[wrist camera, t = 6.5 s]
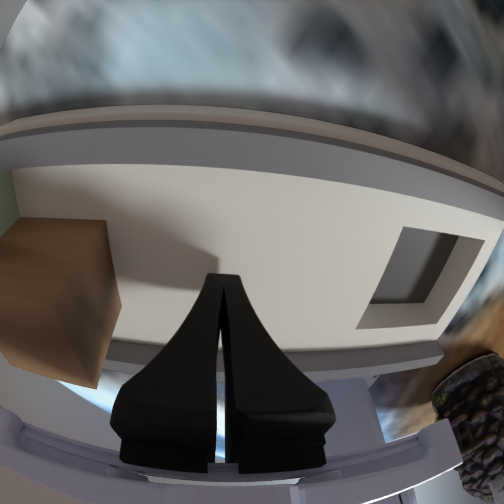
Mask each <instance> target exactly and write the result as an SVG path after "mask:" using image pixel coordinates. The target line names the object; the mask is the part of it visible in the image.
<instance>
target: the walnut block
mask: <svg viewBox="0 0 504 504" xmlns="http://www.w3.org/2000/svg"><path fill="white" fill-rule="evenodd" d="M121 308H122V304H121V299H120V295H119V291H118V286H117V281H116V276H115V271H114V266H113V261H112V255H111V250H110V244H109V237H108V230H107V223H106V220H90V219H66V218H38V217H20V218H19V219H18V220H17V221H16V222H15V223H14V224H13V225H12V226H11V227H10V228H9V229H8V230H7V231H6V232H5V233H4V234H3V235H2V236H1V237H0V351H1V353H2V354H3V355H4V356H5V358H6V359H7V361H8V362H9V364H11V365H13V366H15V367H18V368H21V369H24V370H27V371H30V372H33V373H36V374H39V375H42V376H46V377H49V378H53V379H56V380H60V381H63V382H67V383H71V384H75V385H79V386H83V387H88V388H92V389H97V386H98V382H99V378H100V375H101V371H102V367H103V364H104V361H105V357H106V354H107V351H108V347H109V344H110V341H111V338H112V335H113V332H114V328H115V325H116V322H117V320H118V317H119V314H120V311H121Z"/></svg>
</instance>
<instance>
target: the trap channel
mask: <svg viewBox="0 0 504 504" xmlns="http://www.w3.org/2000/svg"><path fill="white" fill-rule="evenodd" d="M20 217H38V218H66V219H90V220H106V223H107V230H108V237H109V244H110V250H111V255H112V261H113V266H114V271H115V276H116V281H117V286H118V291H119V295H120V299H121V304H122V308H121V311H120V314H119V317H118V320H117V322H116V325H115V328H114V332H113V335H112V338H111V341H110V344H109V347H108V351H107V354H106V357H105V361H104V364H103V367H102V369H106V370H111V371H117V372H123V373H130V374H137V373H138V372H139V371H141V370H142V369H143V368H144V367H145V366H146V365H147V364H148V363H149V362H150V361H151V360H152V359H153V358H154V357H155V356H156V355H157V354H158V353H159V352H160V351H161V350H162V349H163V347H164V346H165V345H166V344H167V343H168V342H169V340H170V339H171V338H172V337H173V335H174V334H175V333H176V331H177V330H178V329H179V327H180V326H181V324H182V323H183V321H184V320H185V318H186V317H187V315H188V314H189V312H190V310H191V309H192V307H193V305H194V303H195V301H196V299H197V298H198V296H199V294H200V291H201V289H202V287H203V285H204V282H205V279H206V275H207V274H208V273H219V274H236V275H239V276H240V277H241V280H242V283H243V286H244V289H245V291H246V294H247V296H248V298H249V300H250V303H251V305H252V306H253V308H254V310H255V312H256V314H257V316H258V318H259V319H260V321H261V323H262V324H263V326H264V327H265V329H266V330H267V332H268V333H269V335H270V336H271V338H272V339H273V340H274V342H275V343H276V344H277V346H278V347H279V348H280V349H281V350H282V352H283V353H284V354H285V355H286V356H287V357H288V358H289V359H290V360H291V362H292V363H293V364H294V365H295V366H296V367H297V368H298V369H299V370H300V371H301V372H302V373H303V374H305V375H306V376H307V377H308V378H309V379H310V380H311V381H325V380H337V379H347V378H357V377H365V376H373V375H380V374H387V373H393V372H399V371H405V370H411V369H416V368H421V367H426V366H431V365H435V364H437V363H438V362H439V361H440V359H441V358H442V357H443V356H444V353H443V351H442V349H441V348H440V346H439V344H438V342H437V339H438V338H439V336H440V335H441V334H442V332H443V331H444V330H445V328H446V327H447V325H448V324H449V323H450V321H451V320H452V318H453V317H454V315H455V314H456V312H457V311H458V309H459V308H460V306H461V305H462V303H463V302H464V300H465V299H466V297H467V295H468V294H469V292H470V290H471V289H472V287H473V286H474V284H475V282H476V280H477V279H478V277H479V275H480V273H481V272H482V270H483V268H484V266H485V264H486V263H487V261H488V259H489V257H490V255H491V253H492V251H493V249H494V247H495V245H496V243H497V241H498V239H499V237H500V234H501V232H502V230H503V228H504V184H503V183H501V182H500V181H498V180H497V179H495V178H494V177H492V176H490V175H488V174H485V173H483V172H481V171H479V170H477V169H474V168H472V167H470V166H467V165H465V164H463V163H460V162H458V161H455V160H453V159H450V158H448V157H445V156H443V155H440V154H437V153H435V152H432V151H429V150H426V149H423V148H420V147H418V146H415V145H412V144H408V143H405V142H402V141H399V140H396V139H392V138H389V137H386V136H382V135H379V134H375V133H371V132H368V131H364V130H360V129H356V128H352V127H348V126H343V125H339V124H334V123H330V122H325V121H320V120H315V119H310V118H304V117H298V116H292V115H286V114H280V113H273V112H265V111H257V110H249V109H239V108H228V107H215V106H197V105H125V106H108V107H95V108H85V109H76V110H68V111H61V112H54V113H47V114H41V115H36V116H31V117H25V118H21V119H16V120H14V121H11V122H9V123H6V124H4V125H2V126H0V237H1V236H2V235H3V234H4V233H5V232H6V231H7V230H8V229H9V228H10V227H11V226H12V225H13V224H14V223H15V222H16V221H17V220H18V219H19V218H20ZM216 382H225V374H224V363H223V352H222V341H221V330H220V338H219V346H218V354H217V370H216Z"/></svg>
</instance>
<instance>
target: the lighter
mask: <svg viewBox="0 0 504 504" xmlns="http://www.w3.org/2000/svg"><path fill="white" fill-rule="evenodd" d="M25 2H26V0H0V49H1V47H2V45H3V43H4V41H5V39H6V37H7V35H8V33H9V31H10V29H11V27H12V25H13V23H14V21H15V20H16V18H17V16H18V14H19V13H20V11H21V9H22V7H23V6H24V4H25Z"/></svg>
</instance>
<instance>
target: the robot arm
mask: <svg viewBox="0 0 504 504" xmlns="http://www.w3.org/2000/svg"><path fill="white" fill-rule="evenodd" d="M220 330H221V341H222V352H223V363H224V374H225V463H215V451H216V433H217V387H216V370H217V354H218V346H219V338H220ZM380 375H381V374H380ZM380 375H373V376H365V377H357V378H347V379H337V380H325V381H311V380H310V379H309V378H308V377H307V376H306V375H305V374H303V373H302V372H301V371H300V370H299V369H298V368H297V367H296V366H295V365H294V364H293V363H292V362H291V360H290V359H289V358H288V357H287V356H286V355H285V354H284V353H283V352H282V350H281V349H280V348H279V347H278V346H277V344H276V343H275V342H274V340H273V339H272V338H271V336H270V335H269V333H268V332H267V330H266V329H265V327H264V326H263V324H262V323H261V321H260V319H259V318H258V316H257V314H256V312H255V310H254V308H253V306H252V305H251V303H250V300H249V298H248V296H247V294H246V291H245V289H244V286H243V283H242V280H241V277H240V276H239V275H236V274H219V273H208V274H207V275H206V279H205V282H204V285H203V287H202V289H201V291H200V294H199V296H198V298H197V299H196V301H195V303H194V305H193V307H192V309H191V310H190V312H189V314H188V315H187V317H186V318H185V320H184V321H183V323H182V324H181V326H180V327H179V329H178V330H177V331H176V333H175V334H174V335H173V337H172V338H171V339H170V340H169V342H168V343H167V344H166V345H165V346H164V347H163V349H162V350H161V351H160V352H159V353H158V354H157V355H156V356H155V357H154V358H153V359H152V360H151V361H150V362H149V363H148V364H147V365H146V366H145V367H144V368H143V369H142V370H141V371H139V372H138V373H137V374H136V375H135V376H133V377H132V378H131V379H130V380H128V381H127V382H126V383H125V384H123V385H122V387H121V388H120V390H119V393H118V395H117V397H116V400H115V402H114V405H113V409H112V414H111V419H110V425H111V427H112V429H113V430H114V431H115V432H116V433H117V435H118V436H119V437H120V438H121V439H122V442H121V448H120V451H115V450H111V449H106V448H102V447H98V446H94V445H90V444H87V443H83V442H80V441H76V440H73V439H70V438H67V437H63V436H60V435H58V434H54V433H52V432H49V431H46V430H43V429H41V428H38V427H35V426H33V425H31V424H28V423H26V422H23V420H22V419H21V418H20V417H19V416H18V415H16V414H15V413H13V412H12V411H10V410H8V409H6V408H3V407H1V406H0V465H2V466H4V467H6V468H7V469H9V470H11V471H13V472H15V473H17V474H18V475H21V476H22V477H24V478H26V479H29V480H31V481H33V482H35V483H37V484H39V485H41V486H44V487H46V488H48V489H51V490H53V491H56V492H58V493H61V494H63V495H66V496H69V497H71V498H74V499H77V500H80V501H83V502H86V503H89V504H417V501H416V496H415V492H414V488H413V487H415V486H418V485H420V484H422V483H424V482H427V481H429V480H431V479H433V478H435V477H437V476H439V475H441V474H443V473H445V472H447V471H449V470H451V469H453V468H455V467H457V466H459V465H460V464H462V463H463V459H462V456H461V453H460V450H459V447H458V444H457V442H456V439H455V436H454V433H453V431H452V428H451V425H450V423H449V420H448V419H447V418H446V419H444V420H441V421H438V422H436V423H433V424H430V425H428V426H426V427H425V428H423V429H422V430H420V431H419V432H418V433H417V434H415V435H412V436H409V437H406V438H402V439H399V440H395V441H392V442H388V443H385V440H384V436H383V433H382V429H381V426H380V423H379V420H378V416H377V413H376V410H375V407H374V404H373V400H372V397H371V394H370V391H369V388H370V387H371V385H372V384H373V383H374V382H375V381H376V379H377V378H378V377H379V376H380ZM135 473H137V474H135ZM139 474H143V475H149V476H156V477H163V478H171V479H180V480H192V481H209V482H210V481H211V482H255V481H272V480H285V479H294V478H301V479H300V480H299V482H298V483H296V484H278V485H262V486H202V485H184V484H164V483H153V482H150V481H149V480H148V478H147V477H146V476H143V475H139ZM302 477H305V478H302Z"/></svg>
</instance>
